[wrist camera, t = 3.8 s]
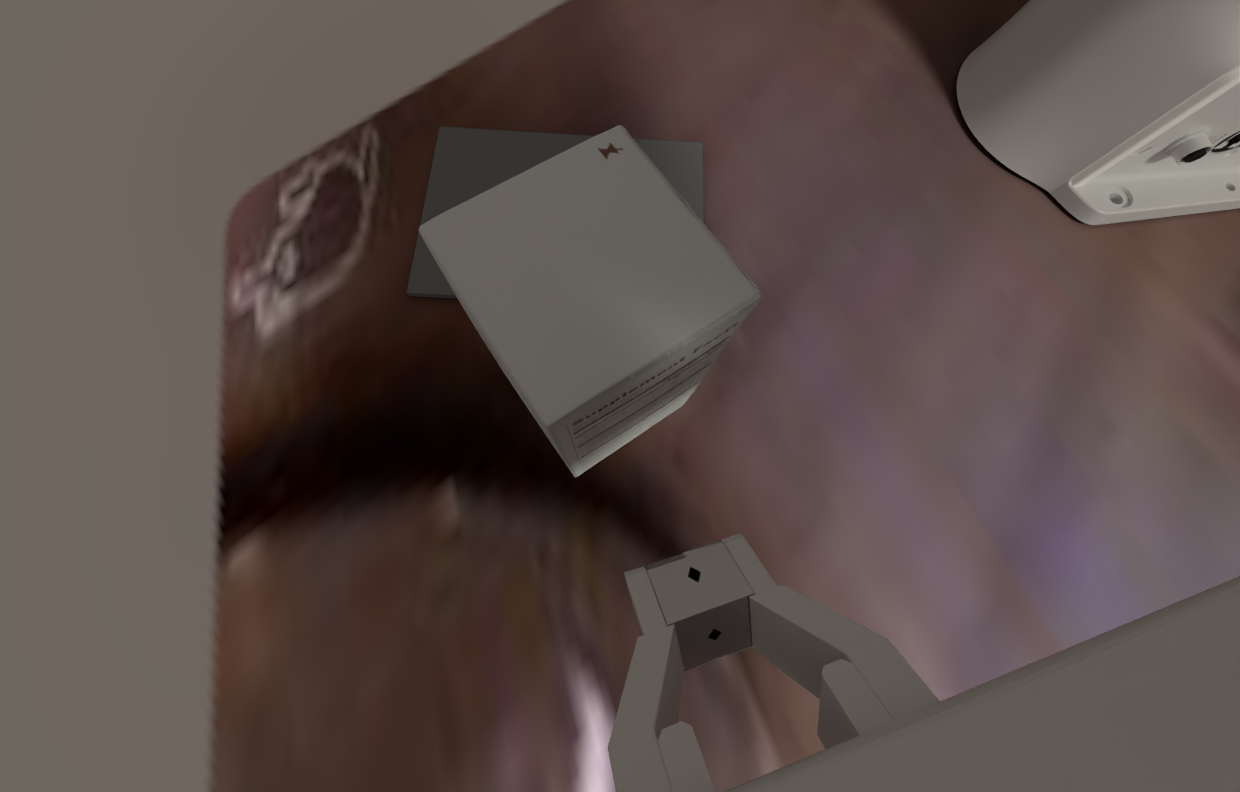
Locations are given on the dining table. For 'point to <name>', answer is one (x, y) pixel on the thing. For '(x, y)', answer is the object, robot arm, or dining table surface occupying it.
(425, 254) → the mat
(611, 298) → the supplement box
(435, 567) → the dining table surface
